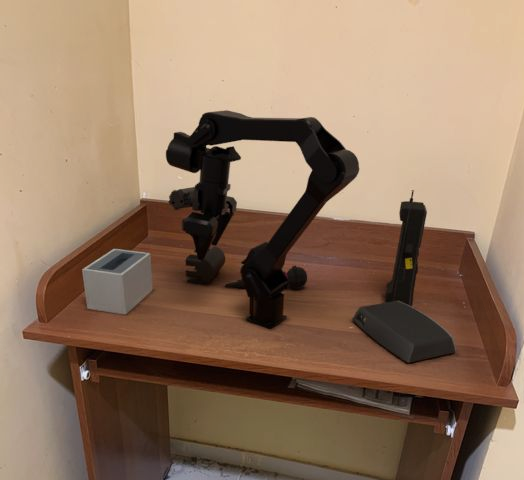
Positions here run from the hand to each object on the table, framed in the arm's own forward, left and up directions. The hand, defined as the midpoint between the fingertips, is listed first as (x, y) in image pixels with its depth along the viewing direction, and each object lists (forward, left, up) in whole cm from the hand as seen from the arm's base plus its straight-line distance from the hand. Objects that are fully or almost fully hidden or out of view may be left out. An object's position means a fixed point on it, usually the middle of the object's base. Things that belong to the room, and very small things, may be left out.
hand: (207, 252), depth 112 cm
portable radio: (-34, -28, -12) cm, 46 cm away
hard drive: (-41, -12, -12) cm, 45 cm away
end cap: (+10, -11, -12) cm, 19 cm away
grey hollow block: (+12, +9, -7) cm, 17 cm away
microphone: (-5, -16, -12) cm, 21 cm away
